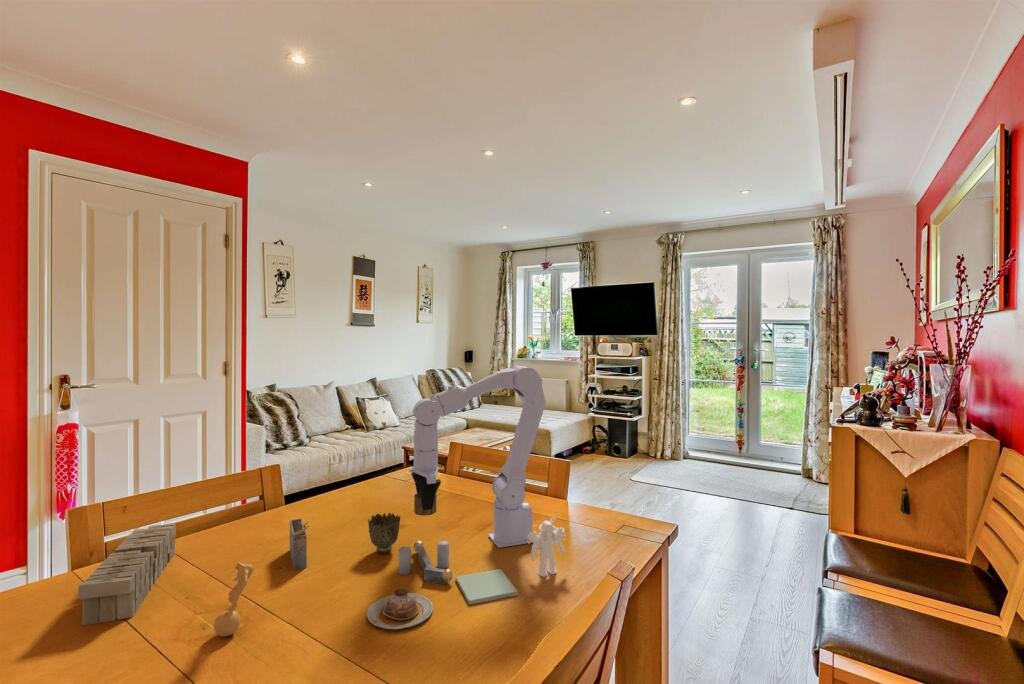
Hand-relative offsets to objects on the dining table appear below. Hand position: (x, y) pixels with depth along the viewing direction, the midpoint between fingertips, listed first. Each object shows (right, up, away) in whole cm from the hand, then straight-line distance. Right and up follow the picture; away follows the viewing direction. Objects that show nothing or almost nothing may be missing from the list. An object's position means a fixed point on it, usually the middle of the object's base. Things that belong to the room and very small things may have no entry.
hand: (425, 505), depth 119 cm
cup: (-10, -11, -1) cm, 14 cm away
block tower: (-56, -11, -18) cm, 60 cm away
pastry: (0, -12, -27) cm, 30 cm away
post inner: (+6, -11, -8) cm, 15 cm away
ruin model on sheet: (-28, -11, -5) cm, 31 cm away
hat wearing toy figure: (+29, -11, -11) cm, 33 cm away
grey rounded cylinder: (-2, -11, -12) cm, 16 cm away
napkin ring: (0, -2, 0) cm, 2 cm away
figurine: (-27, -11, -34) cm, 45 cm away
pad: (+16, -11, -18) cm, 26 cm away
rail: (+3, -11, -9) cm, 14 cm away
